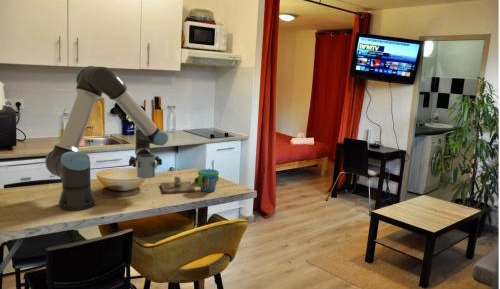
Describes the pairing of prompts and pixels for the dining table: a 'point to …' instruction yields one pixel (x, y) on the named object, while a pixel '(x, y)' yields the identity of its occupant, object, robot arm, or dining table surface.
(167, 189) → the shaft stand
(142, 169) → the grey pen holder
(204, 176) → the snack cup
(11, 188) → the dining table surface
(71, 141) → the robot arm
